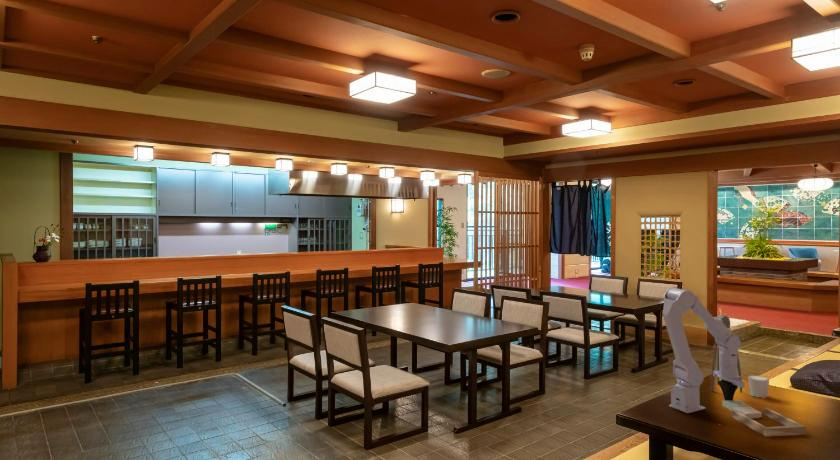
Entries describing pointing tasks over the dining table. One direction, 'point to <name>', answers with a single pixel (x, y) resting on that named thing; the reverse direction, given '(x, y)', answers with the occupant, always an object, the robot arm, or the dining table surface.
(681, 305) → the robot arm
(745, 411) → the cream tile
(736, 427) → the dining table surface
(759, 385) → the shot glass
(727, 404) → the celadon tile
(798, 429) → the box
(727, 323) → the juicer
